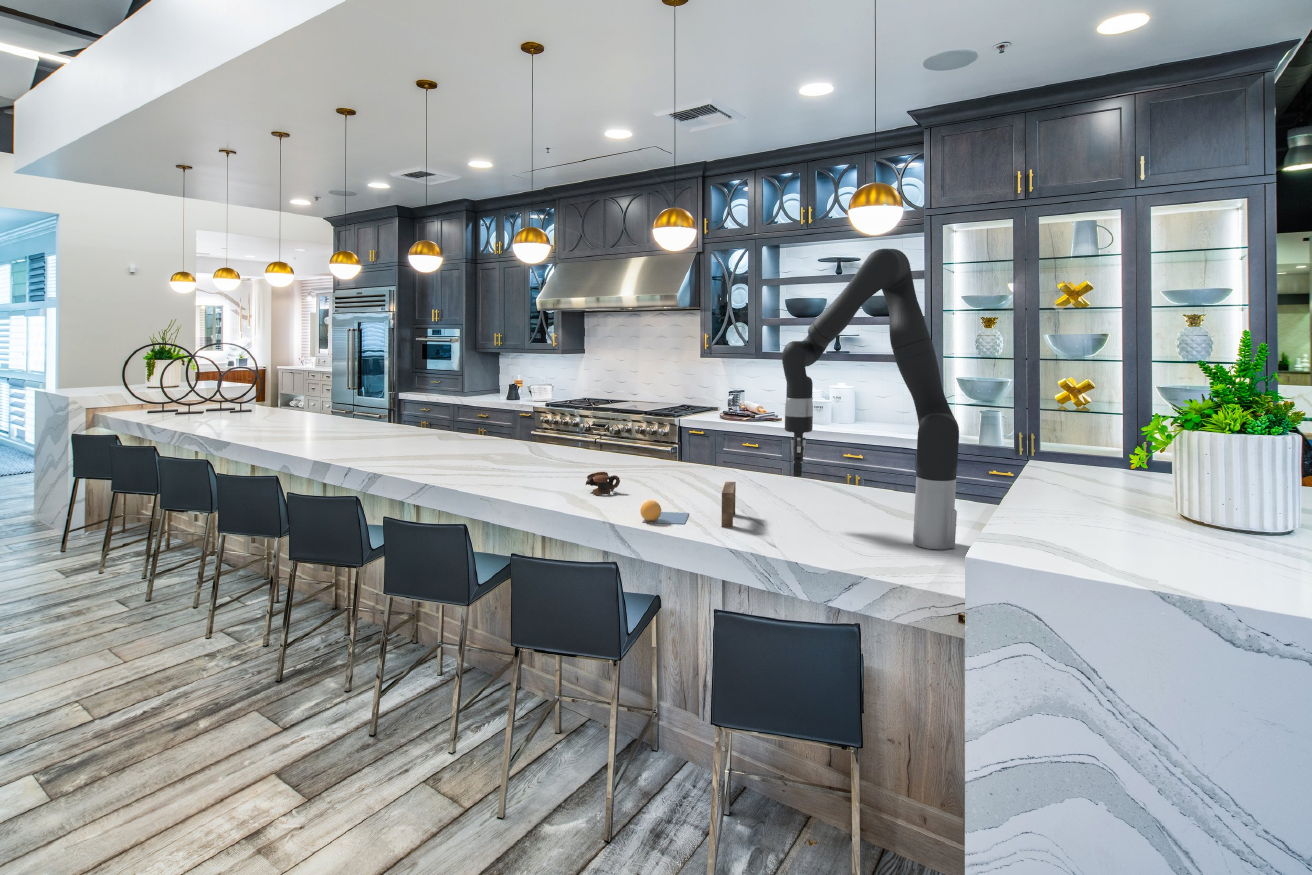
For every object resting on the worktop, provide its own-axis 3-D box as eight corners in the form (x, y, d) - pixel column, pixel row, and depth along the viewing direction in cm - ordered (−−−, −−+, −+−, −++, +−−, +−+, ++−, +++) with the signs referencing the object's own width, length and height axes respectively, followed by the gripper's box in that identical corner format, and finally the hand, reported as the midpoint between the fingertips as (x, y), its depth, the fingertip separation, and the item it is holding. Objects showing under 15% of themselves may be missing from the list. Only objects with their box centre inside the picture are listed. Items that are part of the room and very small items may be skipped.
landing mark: (689, 513, 204) (689, 512, 204) (684, 524, 192) (684, 523, 192) (649, 512, 206) (649, 511, 206) (642, 522, 194) (642, 521, 194)
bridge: (735, 513, 203) (735, 481, 202) (732, 527, 188) (732, 493, 187) (725, 513, 204) (725, 481, 202) (721, 527, 189) (721, 492, 188)
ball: (659, 496, 197) (639, 499, 198) (658, 502, 192) (637, 505, 192) (663, 515, 199) (643, 518, 199) (662, 522, 193) (641, 525, 193)
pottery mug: (585, 497, 227) (581, 474, 230) (592, 504, 236) (588, 481, 239) (619, 489, 226) (615, 465, 229) (626, 495, 235) (621, 473, 238)
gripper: (814, 417, 181) (812, 481, 184) (811, 411, 194) (809, 471, 197) (785, 416, 183) (784, 480, 185) (784, 411, 195) (783, 471, 198)
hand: (797, 475), depth 191 cm, fingers closed
